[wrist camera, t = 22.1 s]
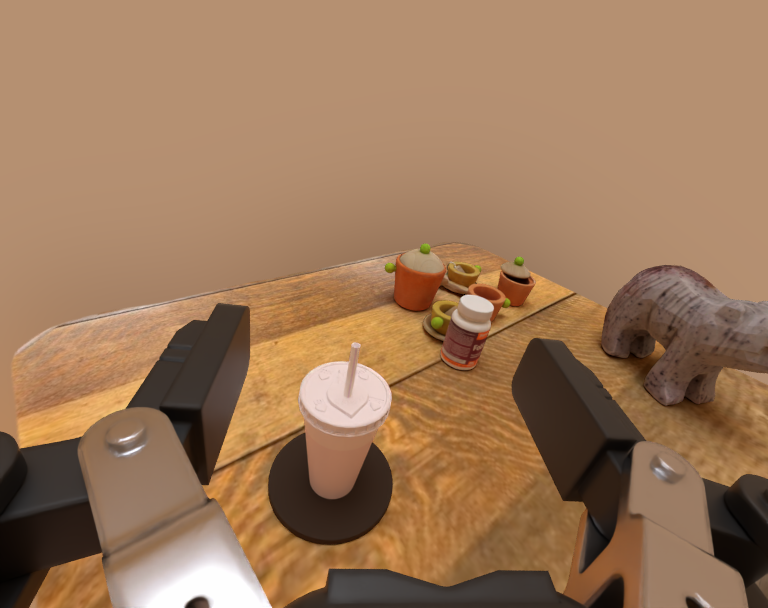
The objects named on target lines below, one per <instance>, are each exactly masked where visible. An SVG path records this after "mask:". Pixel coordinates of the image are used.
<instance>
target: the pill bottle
mask: <svg viewBox="0 0 768 608" xmlns="http://www.w3.org/2000/svg"><path fill="white" fill-rule="evenodd" d="M493 310H494V306H493V304H492V303H491V302H489V301H488V300H486V299H484V298H482V297H480V296H476V295H464V296H462V297H461V298H460V301H459V304H458V307H457V309H456V310H455V311H454V312H453V313H452V316H451V319H450V323H449V326H448V329H447V332H446V335H445V339H444V342H443V345H442V348H441V353H440V354H441V358H442V359H443V361H444V362H445V363H446V364H448V365H449V366H451V367H453V368H455V369H459V370H470V369H473V368H474V367H475V366H476V364H477V362H478V359H479V356H480V354H481V351H482V349H483V346H484V344H485V341H486V338H487V336H488V333H489V331H490V328H491V321H490V318H491V317H492V313H493Z"/></svg>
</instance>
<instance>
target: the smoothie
mask: <svg viewBox="0 0 768 608" xmlns="http://www.w3.org/2000/svg"><path fill="white" fill-rule="evenodd" d="M359 351H360V344H359V343H352V345H351V351H350V358H349V362H345V361H339V362H330V363H326V364H323V365H320V366H318V367H316V368H314V369H313V370H311V371H310V372H309V373H308V374H307V375H306V376H305V378H304V379H303V381H302V383H301V386H300V392H299V398H298V403H299V408H300V411H301V413H302V415H303V417H304V424H305V433H306V445H307V457H308V468H309V480H310V485H311V487H312V489H313V490H314V491H315V493H317V494H318V495H319V496H321V497H323V498H327V499H338V498H341V497H343V496H345V495H347V494H348V493H349V492H350V491H351V490H352V488H353V486H354V484H355V481H356V479H357V476H358V474H359V472H360V469H361V467H362V465H363V462H364V460H365V458H366V455H367V453H368V451H369V448H370V446H371V444H372V441H373V439H374V437H375V434H376V432H377V430H378V428H379V427H380V426H381V425H382V424H383V423H384V422H385V420H386V419H387V417H388V415H389V411H390V404H391V391H390V388H389V386H388V384H387V382H386V381H385V380H384V379H383V377H382V376H380V375H379V374H378V373H377V372H375V371H374V370H372V369H371V368H369V367H367V366H364V365H361V364H358V357H359Z"/></svg>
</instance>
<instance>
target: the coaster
mask: <svg viewBox="0 0 768 608" xmlns="http://www.w3.org/2000/svg"><path fill="white" fill-rule="evenodd" d="M392 485H393V483H392V474H391V470H390V467H389V464H388V462H387V460H386V458H385V456H384V455H383V453H382V452H381V451H380V449H379V448H378V447H377V446H376V445H375V444H374V443H372V444H371V446H370V448H369V451H368V453H367V455H366V458H365V460H364V462H363V465H362V467H361V469H360V472H359V474H358V476H357V479H356V481H355V484H354V486H353V488H352V490H351V491H350V492H349V493H348V494H347V495H345V496H343V497H341V498H338V499H327V498H323V497H321V496H319V495H318V494H317V493H315V491H314V490H313V489H312V487H311V485H310V480H309V468H308V457H307V445H306V433H303V434H301V435H299V436H297V437H296V438H294V439H293V440H291V441H290V442H289V443H288V444H286V445H285V447H284V448H283V449H282V450H281V451H280V452H279V454H278V455H277V457H276V458H275V460H274V462H273V464H272V467H271V470H270V474H269V482H268V491H269V499H270V503H271V506H272V508H273V511H274V513H275V514H276V516H277V518H278V519H279V520H280V522H281V523H282V524H283V525H284V526H285V527H286V528H287V529H288V530H289V531H291V532H292V533H294V534H295V535H297V536H299V537H301V538H303V539H305V540H308V541H311V542H314V543H320V544H340V543H345V542H349V541H352V540H354V539H357V538H359V537H361V536H362V535H364V534H366V533H367V532H368V531H370V530H371V529H372V528H373V527H374V526H375V525H376V524H377V523H378V522H379V521H380V520H381V518H382V517H383V515H384V513H385V512H386V510H387V507H388V505H389V502H390V499H391V494H392Z"/></svg>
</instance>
